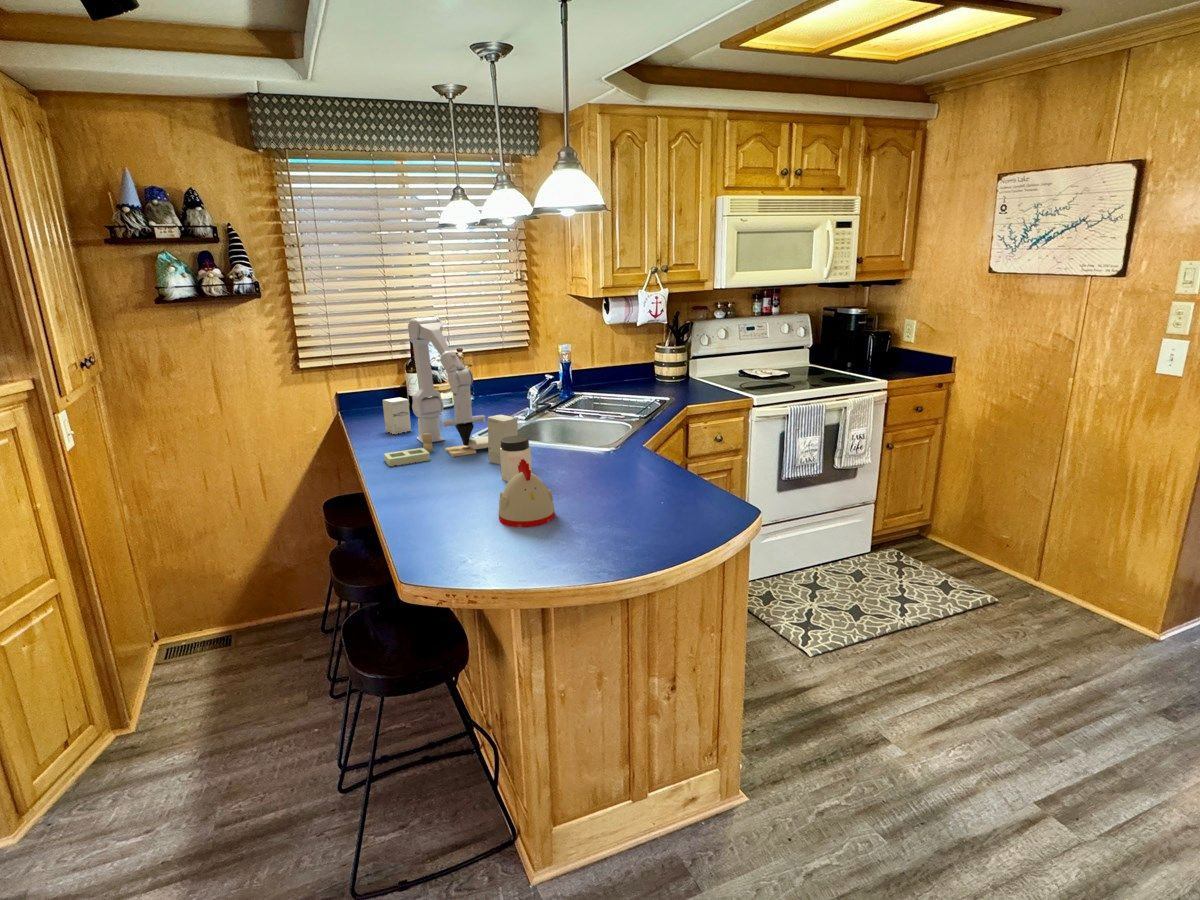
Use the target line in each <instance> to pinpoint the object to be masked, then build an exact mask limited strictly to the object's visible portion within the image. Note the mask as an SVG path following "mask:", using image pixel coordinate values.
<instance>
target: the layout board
mask: <svg viewBox="0 0 1200 900" xmlns="http://www.w3.org/2000/svg"><path fill="white" fill-rule="evenodd" d="M444 451H445V452H446V453H448V454H449V455H450V456H451V457H452V458H454V457H456V458H457V457H461V456H466V455H474V454H477V449H472V448H471V447H469V446H468V445H467V446H465V445H463V444H462V445H457V446H451V447H449V446H448V447H445V448H444Z"/></svg>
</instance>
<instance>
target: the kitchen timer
mask: <svg viewBox="0 0 1200 900" xmlns="http://www.w3.org/2000/svg"><path fill="white" fill-rule="evenodd" d="M518 471H519V473H518V474H516V475H515V476H514V477H513V478H512V479H511V480H510V481H509V482H507V484H506V485H505V487H504V490H503V492H501V491H500V493H499V500H498V504H499V506H498V520H499V523H501V524H502V525H504V526H507V527H512V528H522V529H524V528H534V527H539V526H543V525H546V524H548V523H550V522H552V521H553V520H554V519H555V506H554V505H555V504H554V498H553V493H552V490H551V488H549V489H548V488H547V486H546V485H545V483H544V481H543V480H541V479H540V477H538V476H537V475H535V474H534V473H533V472H532V473H531V470H529V463H527V462H526V461H525V459H521V462H519V465H518Z"/></svg>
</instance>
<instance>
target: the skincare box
mask: <svg viewBox="0 0 1200 900" xmlns="http://www.w3.org/2000/svg"><path fill="white" fill-rule="evenodd" d="M518 429H519V428H518V418H517V417H513V416H510V415H505V414H496V415H489V416H488V417H487V437H488V447H487V448H488V462H489V463H491V464H496V465H500V466H501V460H500V449H501V439H503V438H505V437H510V436H519V435H518V431H519V430H518Z"/></svg>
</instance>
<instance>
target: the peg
mask: <svg viewBox="0 0 1200 900" xmlns="http://www.w3.org/2000/svg"><path fill="white" fill-rule="evenodd" d="M422 438H423V443H422V446H423V447H422V448H424V449H425V450H427V451H428V452H429V453H431V452H434V449H433V447H434V446H433V442H432V436H431V433H424V434H422Z"/></svg>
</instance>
